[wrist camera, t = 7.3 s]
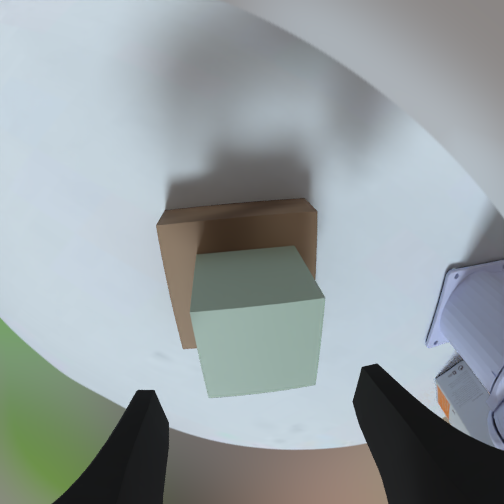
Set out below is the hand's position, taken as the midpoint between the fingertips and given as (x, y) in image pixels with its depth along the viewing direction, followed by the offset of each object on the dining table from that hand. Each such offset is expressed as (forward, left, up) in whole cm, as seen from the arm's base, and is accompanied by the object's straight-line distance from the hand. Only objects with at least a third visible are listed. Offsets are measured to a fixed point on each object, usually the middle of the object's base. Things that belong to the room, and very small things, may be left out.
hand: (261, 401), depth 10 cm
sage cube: (0, 0, -8) cm, 8 cm away
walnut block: (0, 0, -10) cm, 11 cm away
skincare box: (-23, +18, -10) cm, 31 cm away
